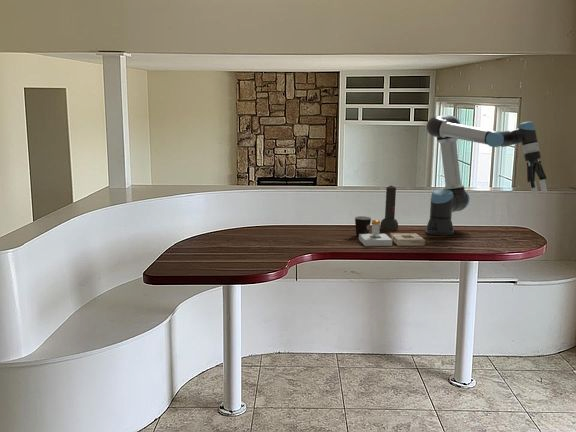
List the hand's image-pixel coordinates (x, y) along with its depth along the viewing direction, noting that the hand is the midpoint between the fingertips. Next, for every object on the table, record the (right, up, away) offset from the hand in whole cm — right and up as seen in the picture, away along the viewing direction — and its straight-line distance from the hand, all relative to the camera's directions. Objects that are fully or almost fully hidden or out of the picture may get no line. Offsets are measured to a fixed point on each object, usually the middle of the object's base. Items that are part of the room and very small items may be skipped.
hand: (539, 193), depth 323 cm
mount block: (-83, -25, +6) cm, 87 cm away
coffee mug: (-87, -22, +20) cm, 92 cm away
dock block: (-66, -25, +7) cm, 71 cm away
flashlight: (-71, -19, +38) cm, 82 cm away
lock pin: (-83, -25, +6) cm, 87 cm away
